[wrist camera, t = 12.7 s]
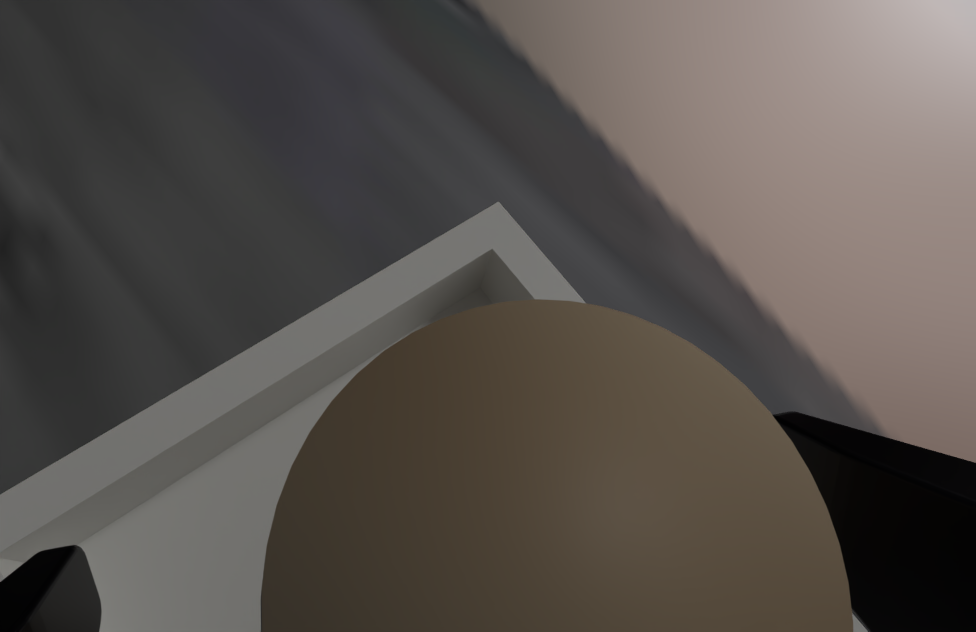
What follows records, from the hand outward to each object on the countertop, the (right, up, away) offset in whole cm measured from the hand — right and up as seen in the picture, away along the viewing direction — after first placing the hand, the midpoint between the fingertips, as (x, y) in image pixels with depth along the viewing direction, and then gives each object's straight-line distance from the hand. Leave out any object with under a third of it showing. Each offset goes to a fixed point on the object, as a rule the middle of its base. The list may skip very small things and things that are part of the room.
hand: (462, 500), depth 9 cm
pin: (-1, -4, +6) cm, 8 cm away
